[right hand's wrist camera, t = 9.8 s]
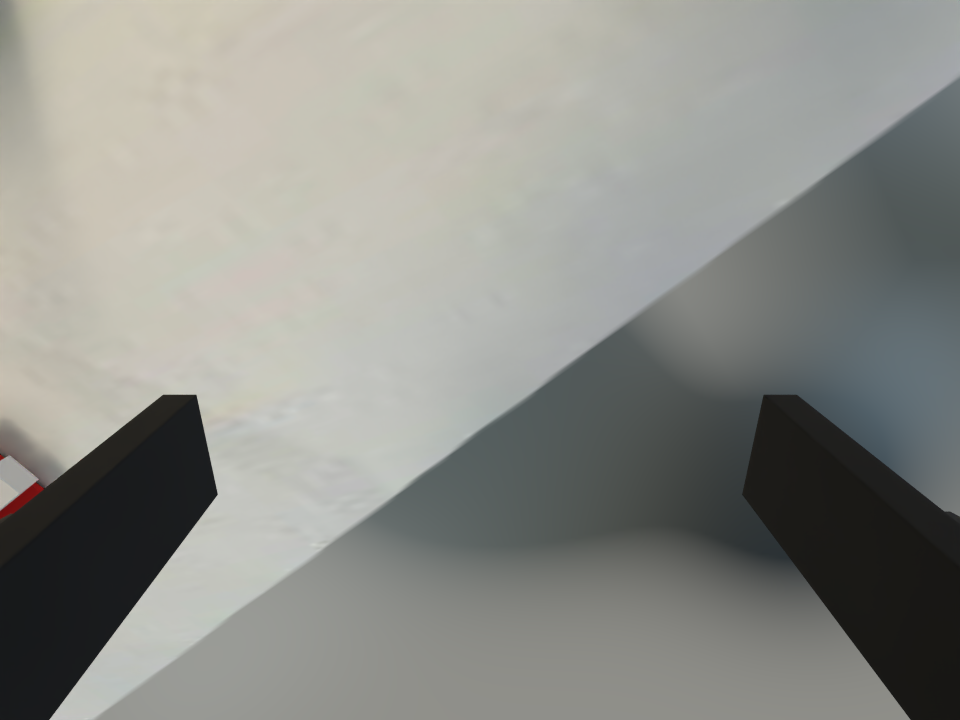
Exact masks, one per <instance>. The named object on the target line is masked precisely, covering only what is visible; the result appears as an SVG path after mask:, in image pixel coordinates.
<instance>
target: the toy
mask: <svg viewBox="0 0 960 720" xmlns="http://www.w3.org/2000/svg"><path fill="white" fill-rule="evenodd" d="M37 480H39V479H38V478H37V477H35V476H34V475H33V474H32V473H31V472H29V471H28V470H27V469H26V468H24V467H23V466H22V465H21V464H20V463H18V462H17V461H16V460H15V459H13V458H12V457H11V456H10V455H9V456H7V457H5V458H4V457H3V456H1V455H0V519H1V518H3V517H5V516H7V515H9V514H13V513H15V512H16V511H17V510H18V509H20V508H21V507H22V506H24V505H25V504H26V503H27V502H29V501H30V500H31V499H32V498H34V497H35V496H36V495H37V494H39V493H40V492H41V491H42V490H44V488H43V487H41V486H40V485H39V484H37V483H36V481H37Z"/></svg>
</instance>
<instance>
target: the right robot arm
mask: <svg viewBox="0 0 960 720" xmlns="http://www.w3.org/2000/svg"><path fill="white" fill-rule="evenodd" d="M217 495H218V494H217V489H216V484H215V480H214V475H213V470H212V466H211V461H210V456H209V452H208V447H207V442H206V438H205V433H204V428H203V424H202V419H201V414H200V410H199V405H198V400H197V396H196V395H162V396H161V397H160V398H159V399H157V400H156V401H155V402H154V403H152V404H151V405H150V406H148V407H147V408H146V409H145V410H143V411H142V412H141V413H140V414H138V415H137V416H136V417H135V418H133V419H132V420H131V421H130V422H128V423H127V424H126V425H125V426H123V427H122V428H121V429H119V430H118V431H117V432H116V433H114V434H113V435H112V436H111V437H109V438H108V439H107V440H106V441H104V442H103V443H102V444H101V445H99V446H98V447H97V448H95V449H94V450H93V451H92V452H90V453H89V454H88V455H87V456H85V457H84V458H83V459H82V460H80V461H79V462H78V463H77V464H75V465H74V466H73V467H71V468H70V469H69V470H68V471H66V472H65V473H64V474H63V475H61V476H60V477H59V478H58V479H56V480H55V481H54V482H53V483H51V484H50V485H49V486H47V487H46V488H45V489H44V490H42V491H41V492H40V493H39V494H37V495H36V496H35V497H34V498H32V499H31V500H30V501H29V502H27V503H26V504H25V505H24V506H22V507H21V508H20V509H18V510H17V511H16V512H15V513H13V514H9V515H7V516H5V517H3V518H1V519H0V720H49V719H50V718H51V717H52V715H53V714H54V713H55V711H56V710H57V709H58V707H59V706H60V705H61V703H62V702H63V701H64V699H65V698H66V697H67V695H68V694H69V693H70V691H71V690H72V689H73V687H74V686H75V685H76V683H77V682H78V681H79V679H80V678H81V677H82V675H83V674H84V673H85V671H86V670H87V669H88V667H89V666H90V665H91V663H92V662H93V661H94V659H95V658H96V657H97V655H98V654H99V653H100V651H101V650H102V649H103V647H104V646H105V645H106V643H107V642H108V641H109V639H110V638H111V637H112V635H113V634H114V633H115V631H116V630H117V629H118V627H119V626H120V625H121V623H122V622H123V620H124V619H125V618H126V616H127V615H128V614H129V612H130V611H131V610H132V608H133V607H134V606H135V604H136V603H137V602H138V600H139V599H140V598H141V596H142V595H143V594H144V592H145V591H146V590H147V588H148V587H149V586H150V584H151V583H152V582H153V580H154V579H155V578H156V576H157V575H158V574H159V572H160V571H161V570H162V568H163V567H164V566H165V564H166V563H167V562H168V560H169V559H170V558H171V556H172V555H173V554H174V552H175V551H176V550H177V548H178V547H179V546H180V544H181V543H182V542H183V540H184V539H185V538H186V536H187V535H188V534H189V532H190V531H191V530H192V528H193V527H194V526H195V524H196V523H197V522H198V520H199V519H200V518H201V516H202V515H203V514H204V512H205V511H206V510H207V508H208V507H209V506H210V504H211V503H212V502H213V500H214V499H215V498H216V496H217ZM742 495H743V496H744V497H745V499H746V500H747V502H748V503H749V504H750V505H751V507H752V508H753V510H754V511H755V512H756V514H757V515H758V516H759V518H760V519H761V520H762V522H763V523H764V524H765V526H766V527H767V528H768V530H769V531H770V532H771V534H772V535H773V536H774V538H775V539H776V540H777V542H778V543H779V544H780V546H781V547H782V548H783V550H784V551H785V552H786V554H787V555H788V556H789V558H790V559H791V560H792V562H793V563H794V564H795V566H796V567H797V568H798V570H799V571H800V572H801V574H802V575H803V576H804V578H805V579H806V580H807V582H808V583H809V584H810V586H811V587H812V588H813V590H814V591H815V592H816V594H817V595H818V596H819V598H820V599H821V600H822V602H823V603H824V604H825V606H826V607H827V608H828V610H829V611H830V612H831V614H832V615H833V616H834V618H835V619H836V620H837V622H838V623H839V625H840V626H841V627H842V629H843V630H844V631H845V633H846V634H847V635H848V637H849V638H850V639H851V640H852V642H853V643H854V645H855V646H856V647H857V649H858V650H859V651H860V653H861V654H862V655H863V657H864V658H865V659H866V661H867V662H868V663H869V665H870V666H871V667H872V669H873V670H874V671H875V673H876V674H877V675H878V677H879V678H880V679H881V681H882V682H883V683H884V685H885V686H886V687H887V689H888V690H889V691H890V693H891V694H892V695H893V697H894V698H895V699H896V701H897V702H898V703H899V705H900V706H901V707H902V709H903V710H904V711H905V713H906V714H907V715H908V717H909V718H910V719H911V720H960V517H959V516H957V515H955V514H954V513H952V512H944V511H943V510H941V509H940V508H939V507H938V506H936V505H935V504H934V503H933V502H931V501H930V500H929V499H928V498H926V497H925V496H924V495H923V494H921V493H920V492H919V491H917V490H916V489H915V488H914V487H913V486H911V485H910V484H909V483H907V482H906V481H905V480H904V479H902V478H901V477H900V476H899V475H897V474H896V473H895V472H894V471H892V470H891V469H890V468H889V467H887V466H886V465H885V464H883V463H882V462H881V461H880V460H878V459H877V458H876V457H875V456H873V455H872V454H871V453H870V452H868V451H867V450H866V449H865V448H863V447H862V446H861V445H859V444H858V443H857V442H856V441H854V440H853V439H852V438H851V437H849V436H848V435H847V434H846V433H844V432H843V431H842V430H841V429H839V428H838V427H837V426H835V425H834V424H833V423H832V422H830V421H829V420H828V419H827V418H825V417H824V416H823V415H822V414H820V413H819V412H818V411H817V410H815V409H814V408H813V407H812V406H810V405H809V404H808V403H806V402H805V401H804V400H803V399H801V398H800V397H799V396H798V395H764V396H763V400H762V405H761V410H760V414H759V419H758V424H757V428H756V433H755V438H754V442H753V447H752V452H751V456H750V461H749V466H748V470H747V475H746V480H745V484H744V489H743V494H742Z"/></svg>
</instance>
